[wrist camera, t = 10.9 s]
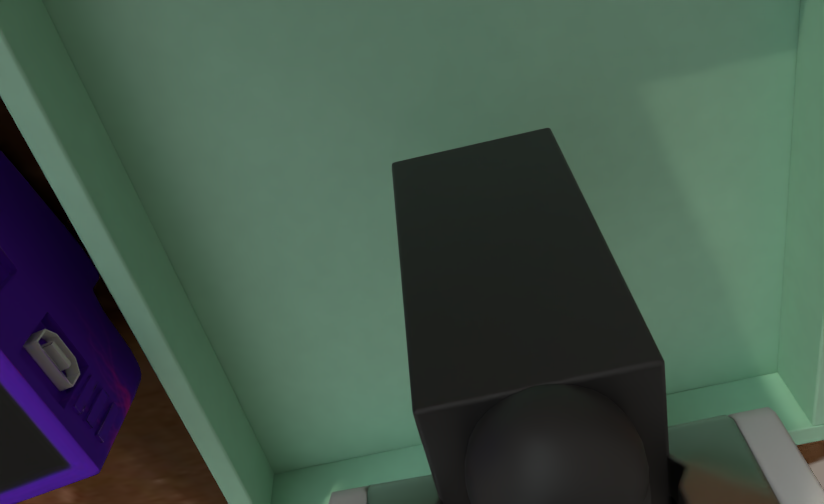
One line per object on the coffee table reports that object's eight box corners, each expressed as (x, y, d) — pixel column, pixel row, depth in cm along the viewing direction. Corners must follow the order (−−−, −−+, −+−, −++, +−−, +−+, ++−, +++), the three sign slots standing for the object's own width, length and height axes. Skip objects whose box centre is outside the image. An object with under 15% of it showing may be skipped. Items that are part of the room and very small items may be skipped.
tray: (-64, -177, 13) (-144, -157, 11) (843, -423, 12) (949, -453, 10) (263, 474, 23) (254, 551, 21) (787, 368, 22) (834, 438, 20)
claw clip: (389, 156, 14) (418, 513, 7) (549, 120, 13) (716, 456, 7) (446, 373, 16) (502, 759, 10) (579, 345, 16) (716, 723, 10)
